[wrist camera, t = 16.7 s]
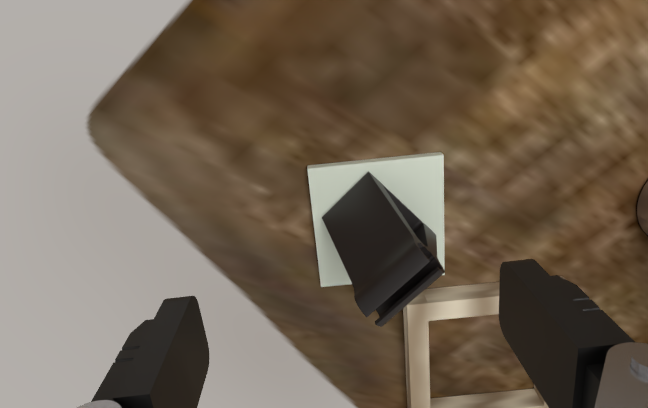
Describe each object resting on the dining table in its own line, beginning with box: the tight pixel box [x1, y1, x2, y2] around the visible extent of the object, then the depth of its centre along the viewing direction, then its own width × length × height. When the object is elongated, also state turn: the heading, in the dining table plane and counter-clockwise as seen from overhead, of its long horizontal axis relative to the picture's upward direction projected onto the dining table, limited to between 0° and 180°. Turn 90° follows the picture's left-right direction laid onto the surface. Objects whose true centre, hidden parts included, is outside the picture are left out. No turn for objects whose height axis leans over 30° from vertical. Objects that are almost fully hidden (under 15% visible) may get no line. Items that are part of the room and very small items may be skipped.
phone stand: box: [322, 171, 445, 327], centre depth 38 cm, size 9×6×12 cm, turn 46°
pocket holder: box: [403, 276, 566, 408], centre depth 49 cm, size 16×16×2 cm
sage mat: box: [307, 152, 445, 287], centre depth 44 cm, size 12×12×1 cm
